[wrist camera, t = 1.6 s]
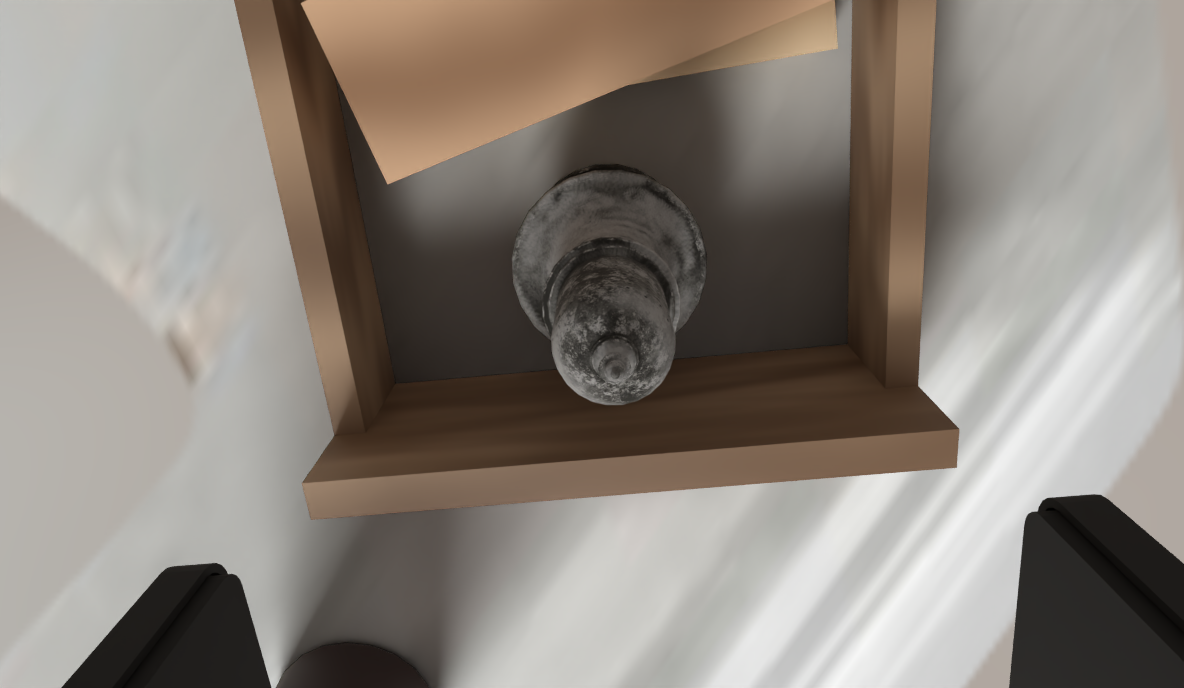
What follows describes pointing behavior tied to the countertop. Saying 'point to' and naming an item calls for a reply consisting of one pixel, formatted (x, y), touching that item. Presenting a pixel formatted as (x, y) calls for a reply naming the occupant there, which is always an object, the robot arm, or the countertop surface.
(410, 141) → the upper offcut
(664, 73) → the lower offcut
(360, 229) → the rack
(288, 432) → the countertop surface
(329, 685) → the bottle
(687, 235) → the grey stone finial
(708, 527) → the countertop surface
